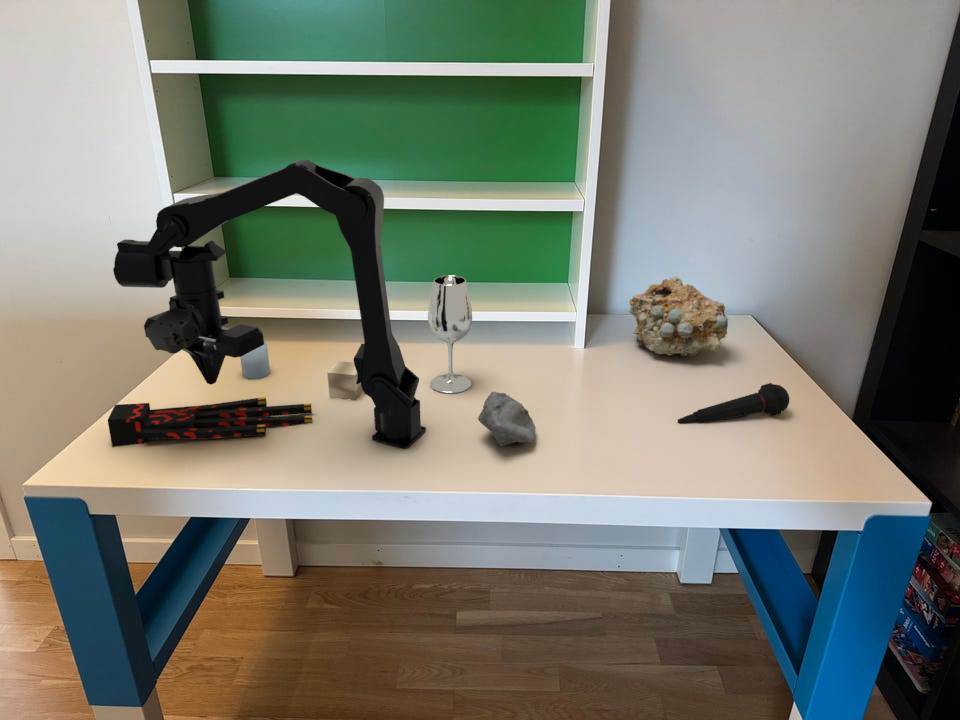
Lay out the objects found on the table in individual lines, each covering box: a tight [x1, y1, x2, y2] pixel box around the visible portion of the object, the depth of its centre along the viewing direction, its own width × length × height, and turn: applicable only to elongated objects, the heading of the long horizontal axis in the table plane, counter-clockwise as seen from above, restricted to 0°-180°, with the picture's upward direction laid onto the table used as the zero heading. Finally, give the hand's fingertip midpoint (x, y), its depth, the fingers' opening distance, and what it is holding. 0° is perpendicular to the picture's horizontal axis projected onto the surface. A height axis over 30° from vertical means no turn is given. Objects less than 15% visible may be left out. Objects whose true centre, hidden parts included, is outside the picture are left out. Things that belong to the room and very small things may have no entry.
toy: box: [107, 396, 313, 448], centre depth 110 cm, size 8×5×30 cm
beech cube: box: [327, 360, 364, 401], centre depth 122 cm, size 5×5×5 cm
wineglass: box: [427, 275, 473, 394], centre depth 123 cm, size 8×8×20 cm
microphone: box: [677, 382, 790, 424], centre depth 116 cm, size 6×6×20 cm
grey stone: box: [477, 391, 536, 447], centre depth 107 cm, size 11×9×8 cm
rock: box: [628, 275, 729, 357], centre depth 140 cm, size 19×19×15 cm
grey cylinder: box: [239, 340, 271, 381], centre depth 129 cm, size 5×5×6 cm
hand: (211, 383), depth 108 cm, fingers closed
